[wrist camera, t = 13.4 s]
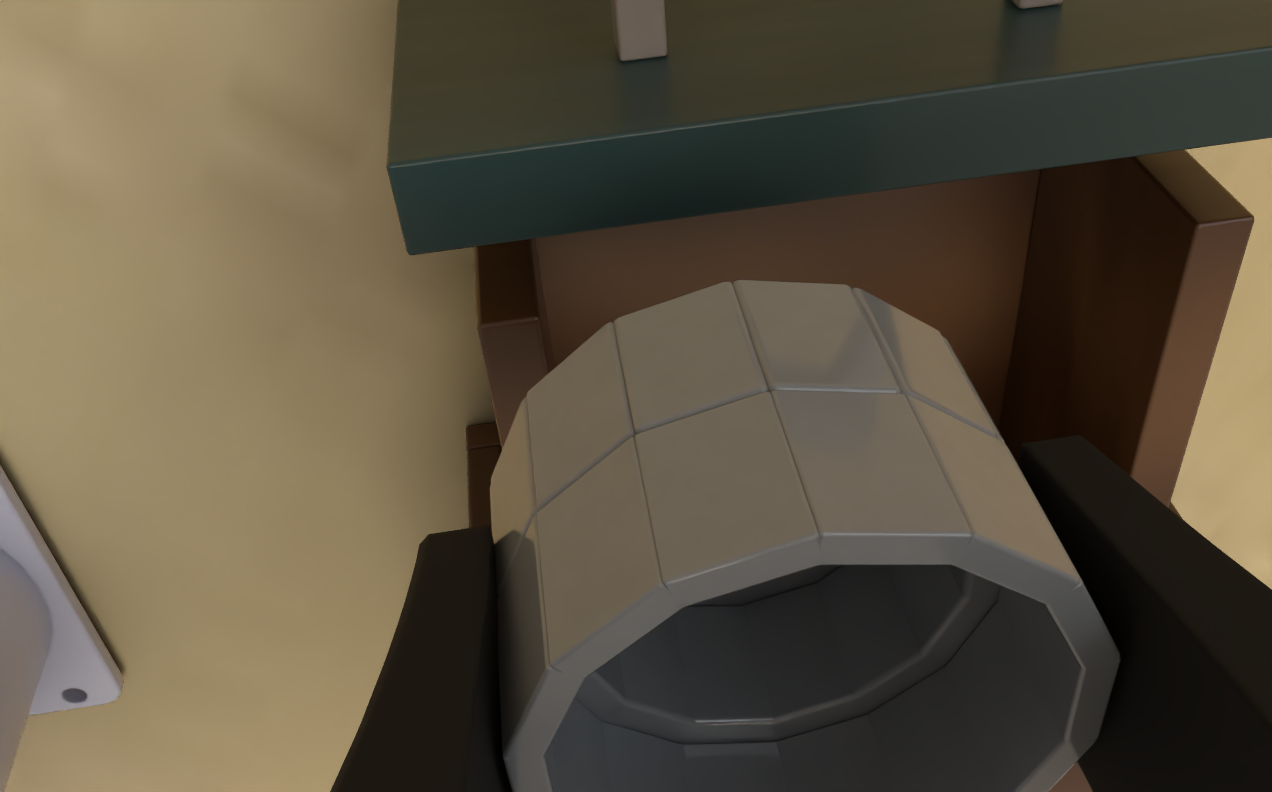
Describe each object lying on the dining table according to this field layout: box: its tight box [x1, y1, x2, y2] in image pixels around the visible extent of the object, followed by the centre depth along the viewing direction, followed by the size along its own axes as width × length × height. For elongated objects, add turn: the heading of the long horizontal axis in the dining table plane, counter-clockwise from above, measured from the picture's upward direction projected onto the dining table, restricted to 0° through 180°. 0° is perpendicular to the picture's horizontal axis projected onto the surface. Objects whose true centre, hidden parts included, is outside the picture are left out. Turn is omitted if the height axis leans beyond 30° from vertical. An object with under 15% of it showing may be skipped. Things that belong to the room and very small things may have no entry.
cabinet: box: [466, 422, 1182, 792], centre depth 26 cm, size 14×12×7 cm
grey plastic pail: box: [490, 279, 1121, 792], centre depth 12 cm, size 5×5×4 cm
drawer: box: [387, 0, 1272, 507], centre depth 18 cm, size 18×11×6 cm, turn 5°
